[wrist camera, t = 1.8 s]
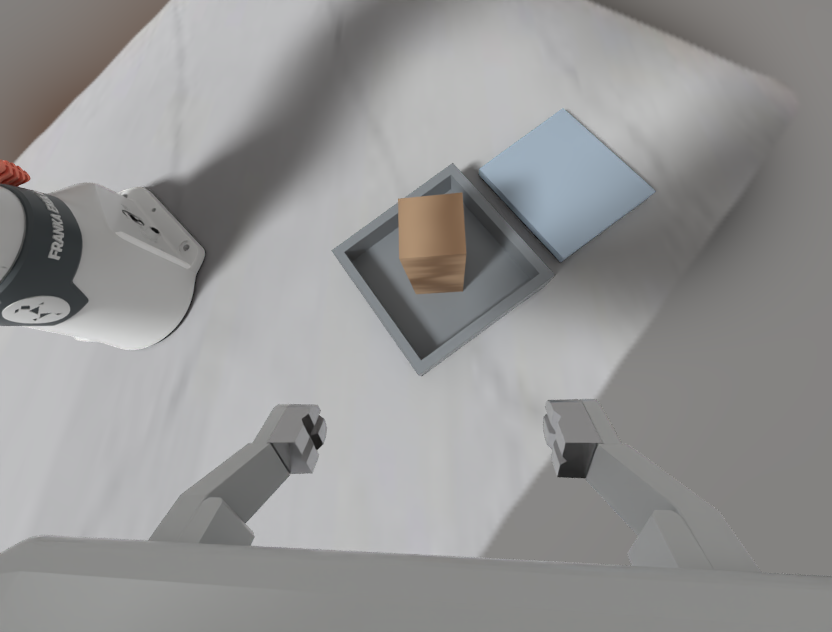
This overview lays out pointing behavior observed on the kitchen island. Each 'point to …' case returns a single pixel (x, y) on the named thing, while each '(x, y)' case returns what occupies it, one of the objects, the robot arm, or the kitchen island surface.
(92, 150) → the kitchen island surface
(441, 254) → the walnut block
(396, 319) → the parts bin
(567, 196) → the light blue flat slab
